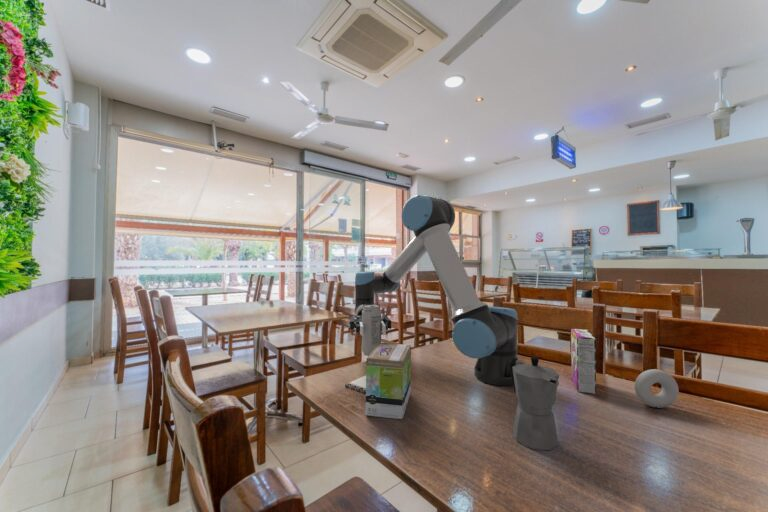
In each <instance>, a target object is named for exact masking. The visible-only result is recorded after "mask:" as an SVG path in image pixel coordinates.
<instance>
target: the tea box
mask: <svg viewBox="0 0 768 512" xmlns="http://www.w3.org/2000/svg"><path fill="white" fill-rule="evenodd" d="M365 361H366V362H365V363H366V365H365V366H366V367H365V369H366V373H365V375H366V393H365V416H370V417H377V418H378V417H379V418H387V419H395V420H396V419H397V420H403V418H404V415H405V414H406V413H405V412H406V409H407V406H408V403H409V399H410V396H411V383H412V382H411V381H412V380H411V378H412V377H411V375H412V372H411V371H412V347H411V344H401V343H400V344H398V343H385V342H383V343H382V342H381V343H379V344H378V345H377V346H376V347H375V349H374V350H373V351H372V352H371V353H370V355H369V356H366V360H365Z"/></svg>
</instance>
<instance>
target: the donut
mask: <svg viewBox="0 0 768 512" xmlns="http://www.w3.org/2000/svg"><path fill="white" fill-rule="evenodd" d="M655 384H660V386H661V388H660V391H659V392H658V393H653V392H652V390H651V389H652V386H653V385H655ZM634 390H635V394H636V396H637V397H638V399H639V400H640V401H641V402H642V403H643V404H644V405H647V406H649V407H651V408H655V407H657V409H664V408H667V407H669V406H671V405H673V404H674V403H675V402H676V401H677V398H678V396H679V391H680V390H679V385H678V383H677V381H676V379H675V378H674V377H673V376H672V375H671V374H670V373H668V372H667V371H664V370H663V369H662V370H661V369H657V368H654V369H653V368H652V369H646V370H644V371H643V372H641V373H640V374H639V375H638V376H637V377H636V379H635V382H634Z"/></svg>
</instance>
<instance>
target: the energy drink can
mask: <svg viewBox="0 0 768 512" xmlns="http://www.w3.org/2000/svg"><path fill="white" fill-rule="evenodd" d="M381 317H382V311H381V307H380V305H378V304H374V305H365V306H364V309H363V310H362V324H363V336H361V352H362V353H363V355H364V356H366V357H368V356H369V355H370V353H371V352H372V351H373V350H374V349H375V347H376V346H377V345H378V344H379V343H382V332H381Z"/></svg>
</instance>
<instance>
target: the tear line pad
mask: <svg viewBox="0 0 768 512" xmlns="http://www.w3.org/2000/svg"><path fill="white" fill-rule="evenodd" d="M349 384H351V385H349ZM353 385H354V386H353ZM345 386H347V387H348V386H349V387H348V388H352V389H351V390H354V389H353V388H355V391H356V390H357V391H356V392H360V391H361V393H362V392H363V393H362V394H366V393H365V392H366V390H365V389H366V374H365V375H363V376H361V377H359V378H356V379H355V380H352V381H350V382H349V383H347V382H346V383H345V384H344V387H345ZM355 386H356V387H355ZM347 387H346V388H347ZM359 387H360V388H359ZM361 388H363V389H361ZM359 390H360V391H359Z"/></svg>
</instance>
